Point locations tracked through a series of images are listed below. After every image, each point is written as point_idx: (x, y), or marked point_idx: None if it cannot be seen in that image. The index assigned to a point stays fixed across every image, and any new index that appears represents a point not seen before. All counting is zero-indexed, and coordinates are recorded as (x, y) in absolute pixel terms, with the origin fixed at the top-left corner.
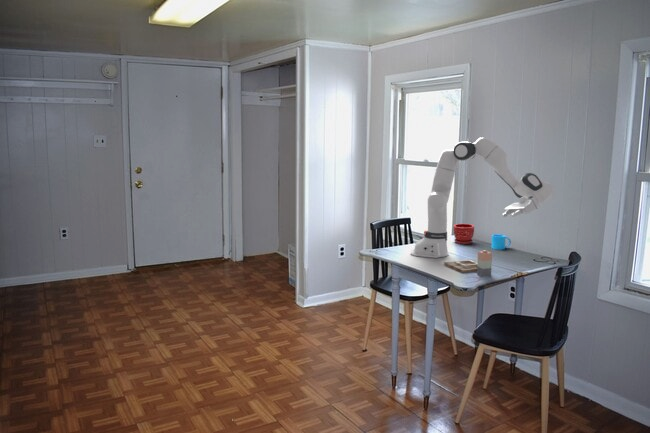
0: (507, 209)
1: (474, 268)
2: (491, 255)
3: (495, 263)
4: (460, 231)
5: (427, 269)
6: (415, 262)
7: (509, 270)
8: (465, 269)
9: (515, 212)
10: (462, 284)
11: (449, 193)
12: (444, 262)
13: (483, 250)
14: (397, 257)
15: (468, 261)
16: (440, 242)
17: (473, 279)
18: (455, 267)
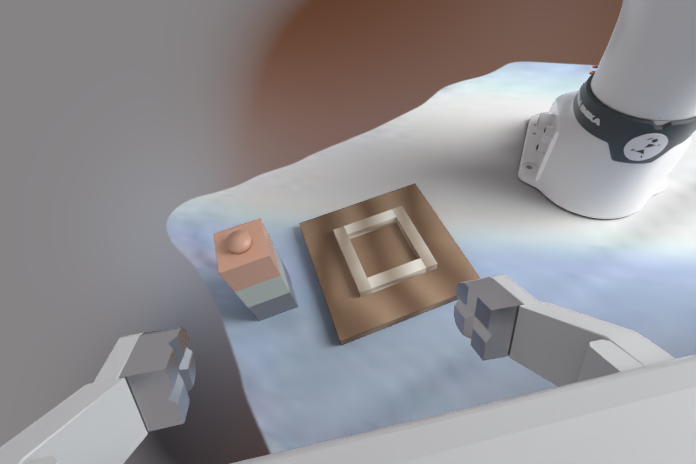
0: (679, 361)
1: (323, 265)
2: (223, 277)
3: None
4: None
5: (353, 147)
6: (437, 125)
7: None
8: (311, 233)
9: (94, 384)
10: (182, 212)
11: None
12: (413, 184)
13: (246, 234)
14: (494, 90)
15: (418, 257)
16: (570, 139)
17: None
18: (344, 208)
